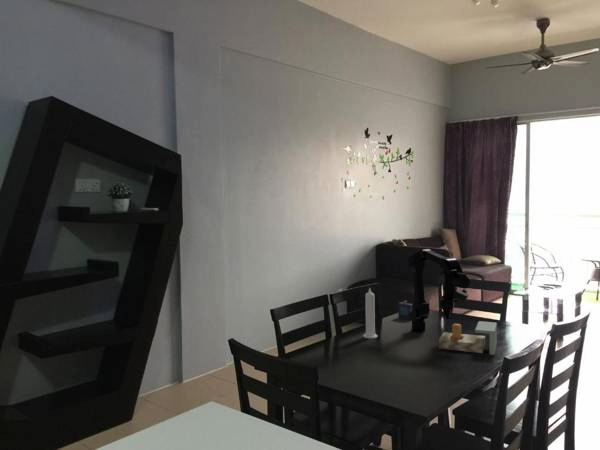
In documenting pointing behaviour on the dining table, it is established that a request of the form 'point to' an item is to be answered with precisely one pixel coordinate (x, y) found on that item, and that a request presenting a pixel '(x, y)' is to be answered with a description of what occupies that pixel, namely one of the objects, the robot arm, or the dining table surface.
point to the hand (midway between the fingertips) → (449, 316)
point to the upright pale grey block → (490, 329)
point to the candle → (370, 315)
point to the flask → (404, 310)
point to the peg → (456, 331)
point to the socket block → (462, 342)
